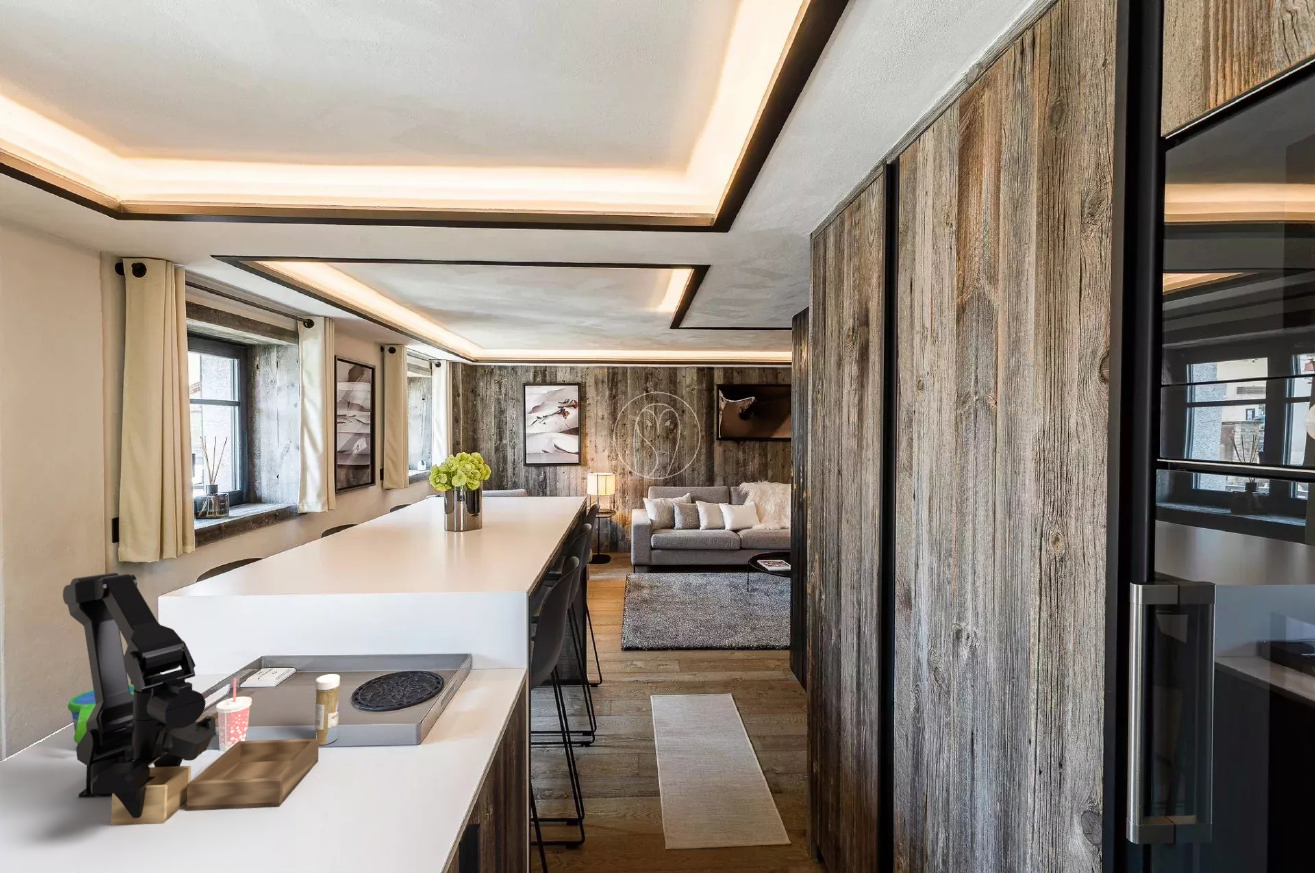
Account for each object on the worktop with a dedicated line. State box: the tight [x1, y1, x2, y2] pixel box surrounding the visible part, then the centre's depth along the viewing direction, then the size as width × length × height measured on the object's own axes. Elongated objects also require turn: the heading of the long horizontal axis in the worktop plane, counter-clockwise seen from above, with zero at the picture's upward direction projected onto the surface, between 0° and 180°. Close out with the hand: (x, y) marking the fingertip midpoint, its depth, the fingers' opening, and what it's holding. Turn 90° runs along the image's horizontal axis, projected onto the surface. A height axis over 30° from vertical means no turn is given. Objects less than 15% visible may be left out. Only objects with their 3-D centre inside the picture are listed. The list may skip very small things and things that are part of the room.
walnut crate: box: [186, 738, 320, 812], centre depth 111 cm, size 15×15×4 cm
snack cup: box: [67, 684, 134, 746], centre depth 125 cm, size 16×10×10 cm
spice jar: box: [314, 673, 341, 746], centre depth 128 cm, size 5×5×14 cm
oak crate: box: [110, 765, 192, 826], centre depth 103 cm, size 8×6×6 cm
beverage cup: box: [216, 677, 253, 753], centre depth 125 cm, size 6×6×14 cm
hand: (152, 804), depth 103 cm, fingers closed on oak crate, 6 cm apart
